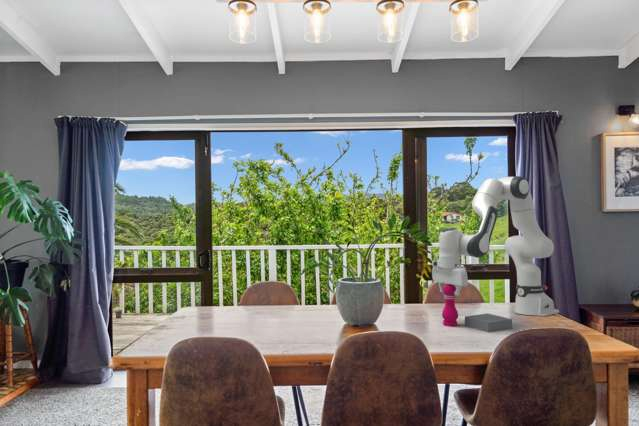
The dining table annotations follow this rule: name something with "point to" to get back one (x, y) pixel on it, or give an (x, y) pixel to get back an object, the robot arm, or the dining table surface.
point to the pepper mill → (449, 306)
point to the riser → (488, 322)
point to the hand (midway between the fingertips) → (449, 293)
